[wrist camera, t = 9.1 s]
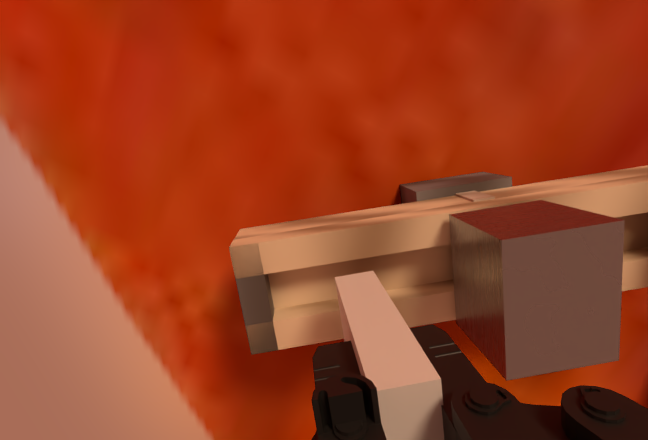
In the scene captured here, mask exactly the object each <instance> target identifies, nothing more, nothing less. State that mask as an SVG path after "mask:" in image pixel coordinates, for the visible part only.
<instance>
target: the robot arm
mask: <svg viewBox="0 0 648 440" xmlns="http://www.w3.org/2000/svg"><path fill="white" fill-rule="evenodd" d="M335 283H336V290H337V296H338V303H339V310H340V316H341V323H342V330H343V336H344V342H340V343H335V344H329V345H324V346H318V348H317V350H316V352H315V354H314V356H313V368H314V378H315V390H314V392H313V396H312V405H313V411H314V416H315V422H316V427H317V431H316V433H315V435H314V436H313V438H312V439H311V440H648V409H647V408H645V407H643V406H641V405H640V404H638V403H636V402H634V401H633V400H631V399H629V398H627V397H625V396H623V395H621V394H619V393H617V392H614V391H612V390H609V389H605V388H601V387H597V386H576V387H572V388H569V389H568V390H566V391H565V392H564V393H563V394H562V399H561V406H546V405H531V404H524V403H520V402H519V401H518V400H517V399H516V398H515V397H514V396H513V395H512V394H511V393H509V392H508V391H507V390H506V389H504V388H502V387H499V386H497V385H495V384H491V383H487V382H486V381H485V380H484V379H483V377H482V376H481V375H480V374H479V372H478V371H477V370H476V369H475V368H474V366H473V365H472V364H471V363H470V361H469V360H468V359H467V358H466V356H465V355H464V354H463V353H461V350H460V349H459V348H458V346H457V345H456V344H454V341H453V340H452V339H451V338H450V337H449V335H448V334H447V333H446V332H445V331H443V330H441V329H440V328H438V327H436V326H434V325H427V326H422V327H416V328H411V329H409V327H408V325H407V324H406V322H405V321H404V319H403V317H402V316H401V314H400V313H399V311H398V309H397V308H396V306H395V305H394V303H393V301H392V300H391V298H390V297H389V295H388V293H387V292H386V290H385V289H384V287H383V285H382V284H381V282H380V281H379V279H378V277H377V276H376V274H375V273H374V271H368V272H362V273H356V274H351V275H345V276H339V277H335Z"/></svg>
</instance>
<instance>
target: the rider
mask: <svg viewBox="0 0 648 440" xmlns="http://www.w3.org/2000/svg"><path fill="white" fill-rule="evenodd" d="M449 222H450V237H451V252H452V266H453V281H454V295H455V310H456V323H457V324H458V326H459V327H460V328H461V329H462V330H463V331H464V332H465V334H466V335H467V336H468V337H469V338H470V339H471V340H472V342H473V343H474V344H475V345H476V346H477V347H478V348H479V350H480V351H481V352H482V353H483V354H484V355H485V356H486V358H487V359H488V360H489V361H490V362H491V363H492V364H493V366H494V367H495V368H496V369H497V370H498V371H499V372H500V374H501V375H502V376H503V377H504V378H505V379H506V380H512V379H518V378H523V377H529V376H534V375H540V374H546V373H551V372H557V371H562V370H568V369H573V368H579V367H585V366H590V365H596V364H601V363H607V362H613V361H618V360H619V344H620V320H621V295H622V271H623V246H624V222H625V220H622V219H618V218H614V217H609V216H605V215H601V214H597V213H593V212H589V211H585V210H581V209H577V208H573V207H569V206H565V205H561V204H556V203H552V202H548V201H544V200H538V201H531V202H525V203H519V204H512V205H506V206H500V207H493V208H487V209H481V210H474V211H468V212H462V213H456V214H449Z"/></svg>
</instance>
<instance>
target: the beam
mask: <svg viewBox="0 0 648 440" xmlns="http://www.w3.org/2000/svg"><path fill="white" fill-rule="evenodd" d="M400 192H401V202H402V204H398V205H391V206H385V207H379V208H372V209H366V210H359V211H353V212H347V213H340V214H334V215H327V216H321V217H315V218H308V219H302V220H295V221H289V222H283V223H276V224H270V225H263V226H257V227H251V228H244V229H240V230H239V232H238V234H237V235H236V237H235V239H234V240H233V242H232V243H231V245H230V247H229V250H230V255H231V260H232V264H233V269H234V274H235V279H236V283H237V288H238V293H239V298H240V302H241V307H242V312H243V317H244V322H245V326H246V331H247V336H248V341H249V345H250V350H251V355H252V354H257V353H263V352H269V351H275V350H281V349H287V348H293V347H298V346H304V345H310V344H316V343H322V342H328V341H334V340H339V339H344V336H343V330H342V323H341V316H340V310H339V303H338V296H337V290H336V283H335V277H339V276H345V275H351V274H356V273H362V272H368V271H374V273H375V274H376V276H377V277H378V279H379V281H380V282H381V284H382V285H383V287H384V289H385V290H386V292H387V293H388V295H389V297H390V298H391V300H392V301H393V303H394V305H395V306H396V308H397V309H398V311H399V313H400V314H401V316H402V317H403V319H404V321H405V322H406V324H407V325H408V327H409V328H410V327H416V326H421V325H427V324H433V323H439V322H445V321H451V320H456V310H455V295H454V281H453V266H452V252H451V237H450V222H449V214H456V213H462V212H468V211H474V210H481V209H487V208H493V207H500V206H506V205H512V204H519V203H525V202H531V201H538V200H544V201H548V202H552V203H556V204H561V205H565V206H569V207H573V208H577V209H581V210H585V211H589V212H593V213H597V214H601V215H605V216H609V217H614V218H618V219H622V220H625V222H624V246H623V271H622V291H626V290H632V289H638V288H644V287H648V165H647V166H641V167H635V168H628V169H622V170H615V171H609V172H603V173H596V174H590V175H583V176H577V177H571V178H564V179H558V180H551V181H545V182H539V183H532V184H526V185H519V186H513V187H512V177H509V176H503V175H497V174H492V173H486V172H479V173H473V174H466V175H460V176H453V177H447V178H440V179H434V180H427V181H421V182H414V183H408V184H401V185H400Z"/></svg>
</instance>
